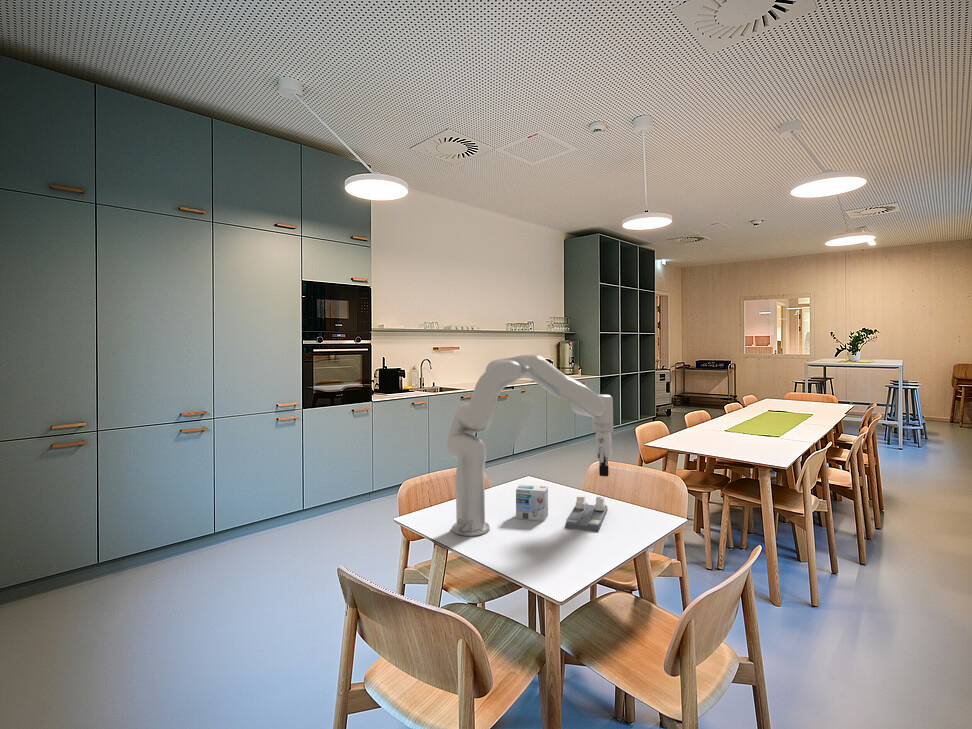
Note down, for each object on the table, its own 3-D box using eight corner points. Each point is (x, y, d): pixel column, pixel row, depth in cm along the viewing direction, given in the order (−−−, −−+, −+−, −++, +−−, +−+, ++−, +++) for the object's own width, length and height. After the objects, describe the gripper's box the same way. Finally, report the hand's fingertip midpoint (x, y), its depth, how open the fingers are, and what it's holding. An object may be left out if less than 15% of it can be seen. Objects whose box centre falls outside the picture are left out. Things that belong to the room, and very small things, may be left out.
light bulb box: (515, 518, 178) (515, 488, 178) (519, 513, 184) (519, 483, 184) (545, 521, 175) (545, 490, 175) (548, 515, 181) (548, 485, 181)
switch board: (599, 531, 164) (599, 525, 164) (565, 527, 168) (565, 521, 168) (607, 510, 186) (607, 504, 186) (577, 507, 190) (577, 502, 190)
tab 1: (584, 509, 182) (583, 498, 182) (575, 508, 183) (575, 497, 183) (585, 505, 186) (585, 495, 186) (577, 505, 187) (577, 494, 187)
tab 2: (603, 510, 180) (603, 499, 179) (595, 510, 181) (595, 499, 181) (605, 507, 183) (605, 496, 183) (596, 506, 184) (596, 496, 184)
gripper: (610, 431, 180) (611, 481, 181) (615, 424, 194) (616, 471, 195) (589, 430, 183) (590, 480, 184) (595, 424, 197) (596, 470, 198)
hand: (604, 475), depth 189 cm, fingers closed
